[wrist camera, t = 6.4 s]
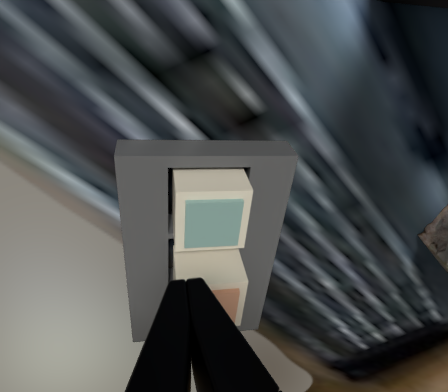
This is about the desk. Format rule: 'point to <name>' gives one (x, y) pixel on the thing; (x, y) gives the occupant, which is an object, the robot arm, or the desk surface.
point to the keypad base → (162, 221)
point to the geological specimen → (438, 237)
